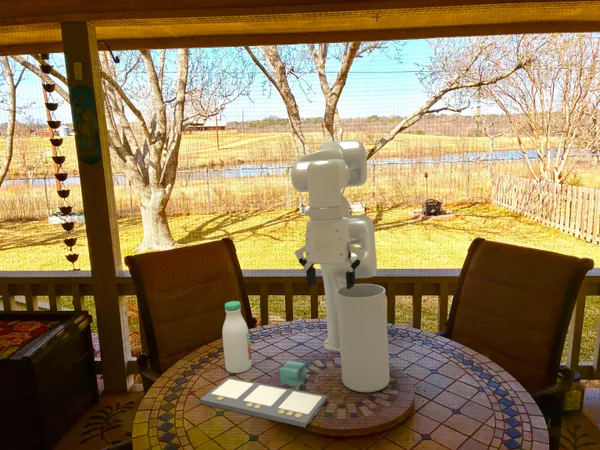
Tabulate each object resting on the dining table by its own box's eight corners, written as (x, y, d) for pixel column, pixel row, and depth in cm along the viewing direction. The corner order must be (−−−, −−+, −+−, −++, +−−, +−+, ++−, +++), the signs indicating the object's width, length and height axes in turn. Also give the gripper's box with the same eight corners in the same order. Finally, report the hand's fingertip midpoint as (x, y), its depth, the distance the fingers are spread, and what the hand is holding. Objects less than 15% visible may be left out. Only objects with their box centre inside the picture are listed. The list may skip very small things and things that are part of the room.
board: (228, 381, 121) (227, 376, 121) (327, 400, 107) (327, 394, 107) (200, 403, 110) (199, 398, 110) (306, 427, 97) (305, 421, 97)
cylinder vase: (361, 366, 124) (356, 281, 121) (399, 379, 115) (394, 288, 112) (332, 383, 115) (326, 292, 112) (370, 399, 106) (365, 301, 103)
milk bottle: (247, 374, 124) (240, 307, 122) (221, 373, 126) (214, 307, 123) (255, 362, 132) (249, 298, 129) (231, 361, 133) (224, 299, 131)
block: (290, 378, 121) (288, 360, 120) (306, 380, 118) (304, 363, 118) (281, 386, 116) (279, 368, 115) (297, 389, 114) (296, 371, 113)
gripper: (285, 217, 101) (291, 288, 103) (356, 215, 93) (361, 293, 95) (299, 213, 107) (304, 280, 109) (367, 211, 100) (371, 283, 102)
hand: (331, 286), depth 102 cm, fingers open, 9 cm apart
